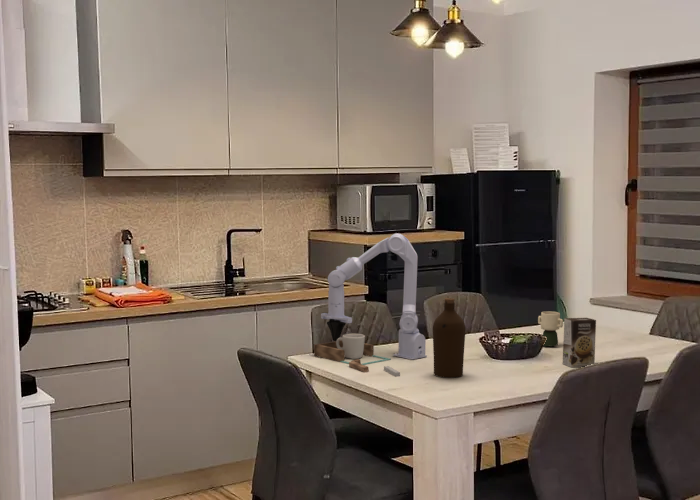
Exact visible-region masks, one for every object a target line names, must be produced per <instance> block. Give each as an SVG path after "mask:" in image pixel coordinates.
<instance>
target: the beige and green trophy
mask: <svg viewBox="0 0 700 500" xmlns="http://www.w3.org/2000/svg"><path fill="white" fill-rule="evenodd" d="M537 323H538V325H540V329H541V330H543V331H542V336H546V337H547V340H546V342H545V344H544V347H552V348H554V347H556V346H559V339H558V332H557V331H558V330H560V328H564V320H563V319H562V318H561V313H560V312H557V311H549V310H548V311H541V314H540V315H538V317H537Z"/></svg>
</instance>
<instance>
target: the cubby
mask: <svg viewBox="0 0 700 500" xmlns="http://www.w3.org/2000/svg"><path fill="white" fill-rule="evenodd" d="M339 345H340V347H341V348H342V347H343V342H342V340H340V341H339ZM313 346H314V347H313V349H314V351H313V355H314V356H315V357H319V358H323V359H326V360H327V359H328V360H332V361H335V362H340V361H345V356H344V350H341V349H338V348H337V345H336V341H333V340H332V341H328V342H322V343H321V342H320V343H316V344H314V345H313ZM374 347H375V345H374V344H370V343H367V342H366V343H365V342H364V350H363V356H367V357H373V356H372V355H375V354H374V352H375V351H374Z"/></svg>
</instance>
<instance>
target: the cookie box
mask: <svg viewBox="0 0 700 500" xmlns="http://www.w3.org/2000/svg"><path fill="white" fill-rule="evenodd" d="M596 330H597V320H596V319H593V318H589V317H564V320H563V341H562V343H563V345H562V365H564V366H568V367H570V368H583V367H582V366H587V365H591V364H594V365H595V364H596V363H595V360H596V359H595V358H596V357H595V356H596V355H595V354H596V336H597V335H596Z"/></svg>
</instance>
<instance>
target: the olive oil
mask: <svg viewBox="0 0 700 500" xmlns="http://www.w3.org/2000/svg"><path fill="white" fill-rule="evenodd" d="M443 305H444V306H443V307H444V308H443V311H442V312H440V314H439V315H438V316H437V317H436V318H435V319H434V322H433V324H432V346H433V375H434V376H436V377H439V378H447V379H452V378H453V379H454V378H460V377H462V376H463V375H464V357H465V344H466V343H465V341H466V329H467V328H466V323H465V321H464V320H463V318H462V317H461V316H460V315H459V314H458V312H457V311H456V310H455V307H456V306H455V305H456V303H455V298H454V297H445V298H444V303H443Z"/></svg>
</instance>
